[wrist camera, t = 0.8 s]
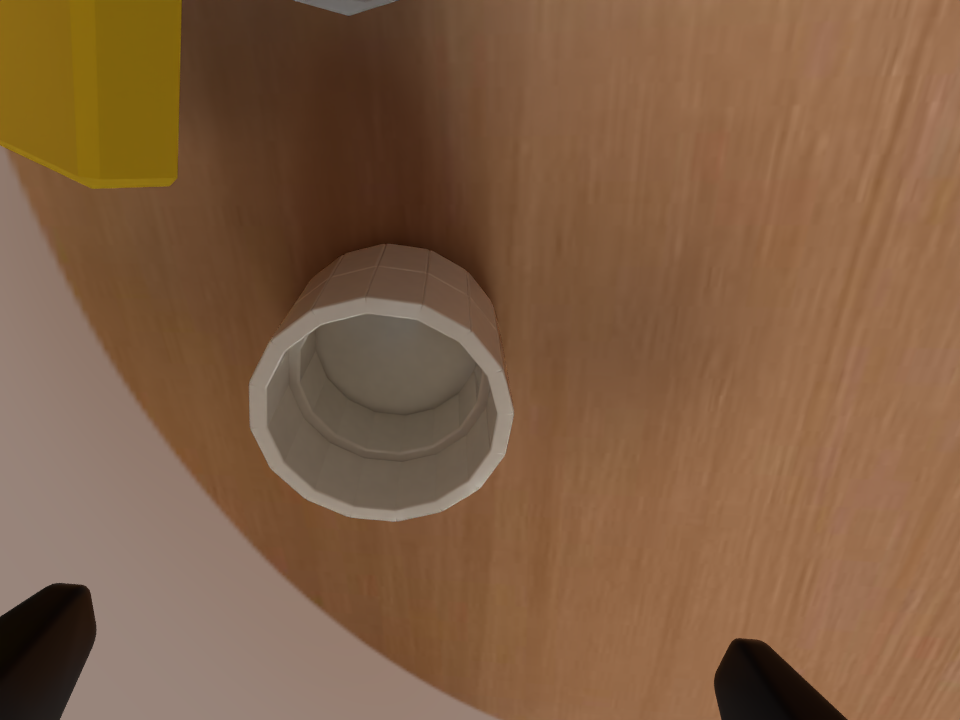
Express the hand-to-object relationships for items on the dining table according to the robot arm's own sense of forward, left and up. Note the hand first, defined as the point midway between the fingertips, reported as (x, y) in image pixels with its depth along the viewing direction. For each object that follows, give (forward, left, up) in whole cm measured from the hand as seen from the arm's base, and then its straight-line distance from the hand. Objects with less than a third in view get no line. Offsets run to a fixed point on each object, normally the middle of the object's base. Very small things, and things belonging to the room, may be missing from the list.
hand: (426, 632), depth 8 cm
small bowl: (0, +1, -11) cm, 11 cm away
